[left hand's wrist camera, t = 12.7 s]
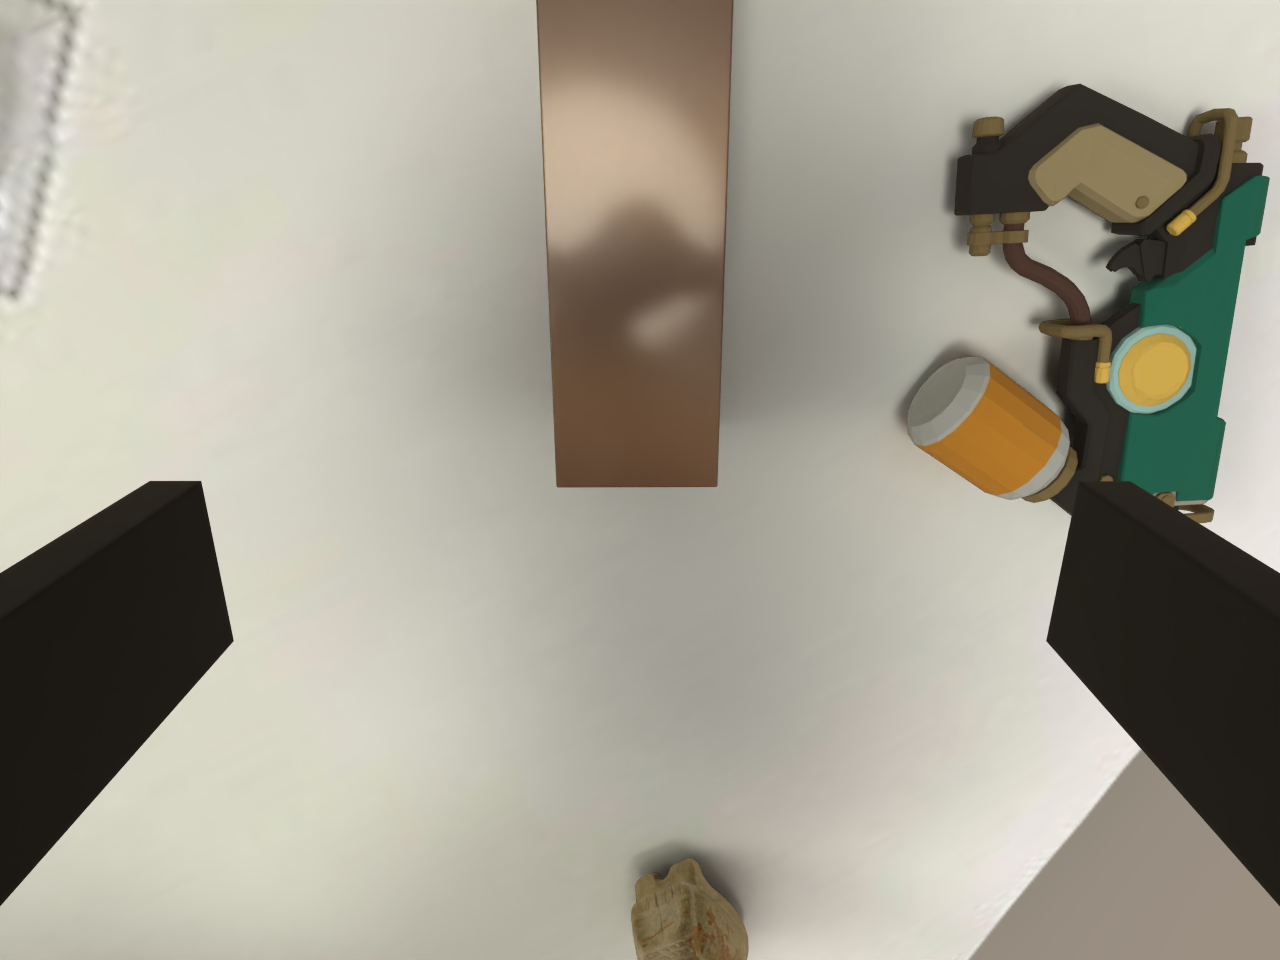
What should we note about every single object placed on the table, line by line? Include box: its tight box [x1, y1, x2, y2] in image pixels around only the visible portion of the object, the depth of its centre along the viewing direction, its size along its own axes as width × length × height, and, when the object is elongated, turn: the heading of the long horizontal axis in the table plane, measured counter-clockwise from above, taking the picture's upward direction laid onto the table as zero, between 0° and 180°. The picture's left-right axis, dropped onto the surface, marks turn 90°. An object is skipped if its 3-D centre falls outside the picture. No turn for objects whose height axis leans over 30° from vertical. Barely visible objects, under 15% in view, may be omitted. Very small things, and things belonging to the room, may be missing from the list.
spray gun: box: [907, 84, 1270, 523], centre depth 32 cm, size 4×17×15 cm
